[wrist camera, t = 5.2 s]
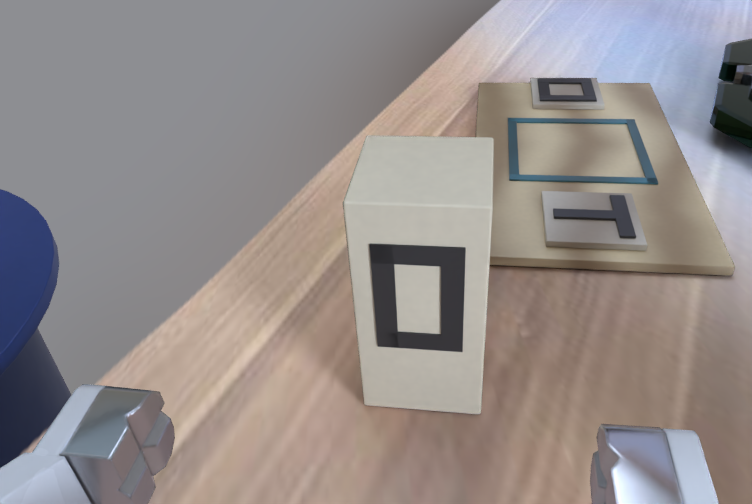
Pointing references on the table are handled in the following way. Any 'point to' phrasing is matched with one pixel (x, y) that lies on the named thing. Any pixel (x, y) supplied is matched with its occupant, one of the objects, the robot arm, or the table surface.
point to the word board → (593, 181)
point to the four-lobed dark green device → (735, 93)
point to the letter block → (421, 269)
